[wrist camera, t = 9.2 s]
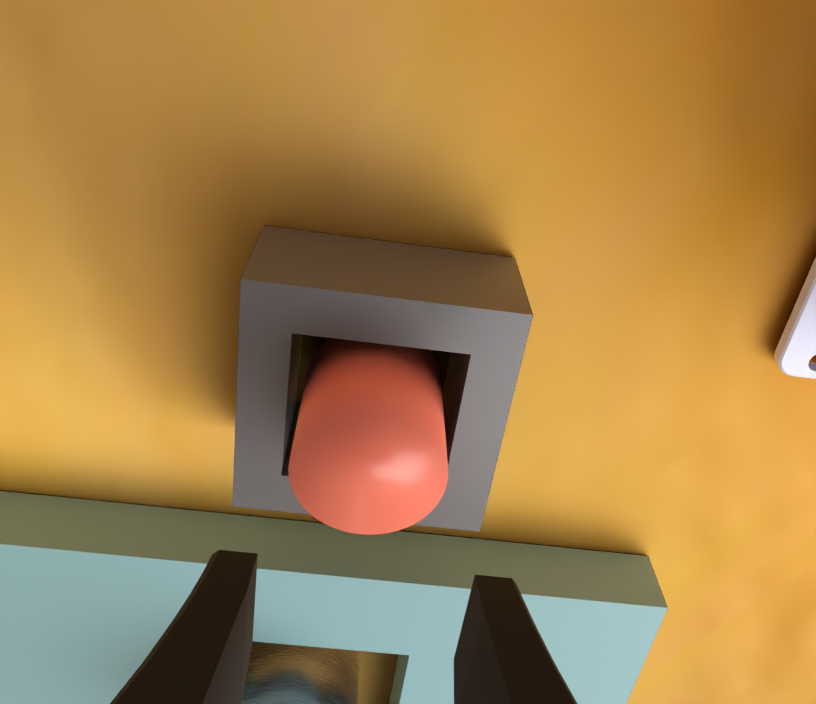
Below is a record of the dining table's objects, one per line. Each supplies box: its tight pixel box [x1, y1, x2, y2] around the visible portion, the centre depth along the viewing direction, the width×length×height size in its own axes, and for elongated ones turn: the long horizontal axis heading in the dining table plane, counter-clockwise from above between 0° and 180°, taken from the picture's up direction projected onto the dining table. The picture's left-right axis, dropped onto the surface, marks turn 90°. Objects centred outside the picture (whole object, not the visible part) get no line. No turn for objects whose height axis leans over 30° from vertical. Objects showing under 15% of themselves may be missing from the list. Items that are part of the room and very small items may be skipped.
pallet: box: [0, 491, 668, 704], centre depth 25 cm, size 20×12×2 cm, turn 82°
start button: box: [288, 338, 448, 535], centre depth 17 cm, size 3×3×4 cm
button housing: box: [232, 226, 533, 532], centre depth 19 cm, size 6×6×3 cm
